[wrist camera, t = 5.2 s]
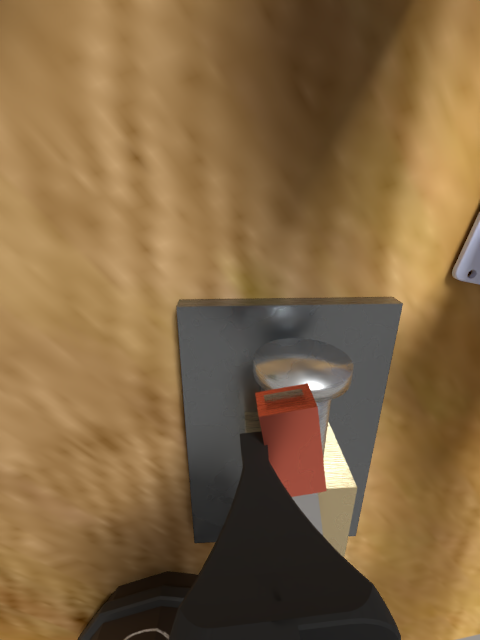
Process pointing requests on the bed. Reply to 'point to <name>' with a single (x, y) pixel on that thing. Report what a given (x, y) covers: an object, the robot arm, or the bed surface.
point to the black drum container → (141, 609)
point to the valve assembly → (278, 372)
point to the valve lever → (294, 444)
